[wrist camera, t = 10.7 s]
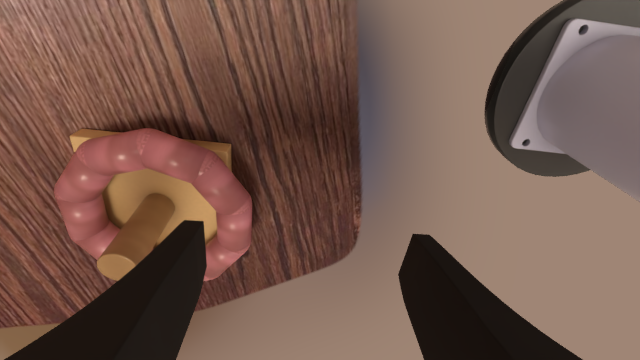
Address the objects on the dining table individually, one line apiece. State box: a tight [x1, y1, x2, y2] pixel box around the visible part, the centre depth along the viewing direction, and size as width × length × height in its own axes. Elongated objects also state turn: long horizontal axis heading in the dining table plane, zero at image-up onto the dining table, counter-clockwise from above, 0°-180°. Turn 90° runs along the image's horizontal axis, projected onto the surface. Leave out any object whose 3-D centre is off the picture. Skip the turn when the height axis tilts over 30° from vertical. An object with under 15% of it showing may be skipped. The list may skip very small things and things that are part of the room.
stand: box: [70, 129, 232, 281], centre depth 19 cm, size 9×9×7 cm
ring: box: [54, 128, 252, 281], centre depth 20 cm, size 11×12×2 cm
